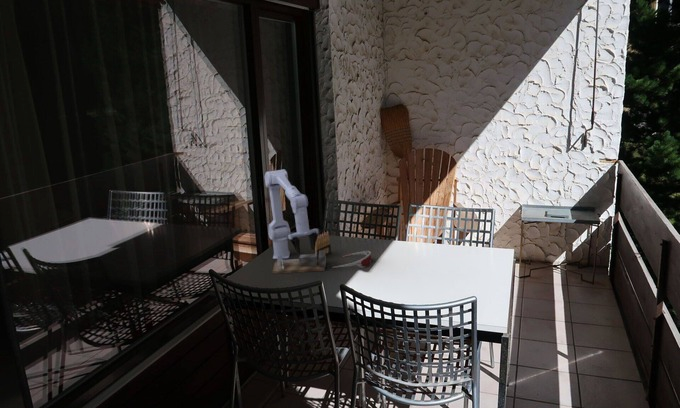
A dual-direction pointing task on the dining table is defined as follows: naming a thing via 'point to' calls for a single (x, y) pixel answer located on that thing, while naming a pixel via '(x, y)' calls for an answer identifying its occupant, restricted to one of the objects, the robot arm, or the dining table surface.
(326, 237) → the ammunition clip
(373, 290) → the dining table surface
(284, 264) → the frame
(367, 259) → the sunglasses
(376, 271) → the dining table surface
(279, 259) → the grey angular piece
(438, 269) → the dining table surface
